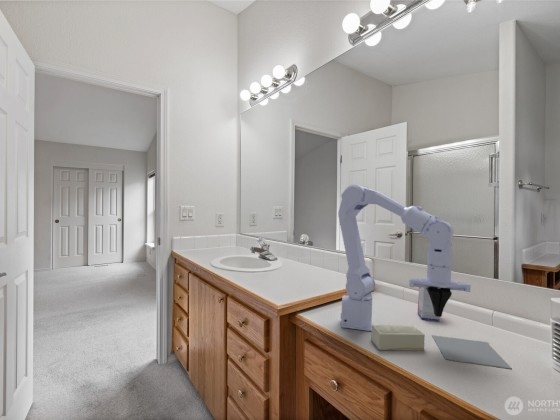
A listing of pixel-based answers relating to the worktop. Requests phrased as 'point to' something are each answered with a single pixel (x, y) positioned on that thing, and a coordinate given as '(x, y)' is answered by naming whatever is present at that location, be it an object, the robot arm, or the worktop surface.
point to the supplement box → (426, 306)
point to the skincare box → (397, 337)
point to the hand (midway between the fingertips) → (437, 315)
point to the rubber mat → (469, 351)
